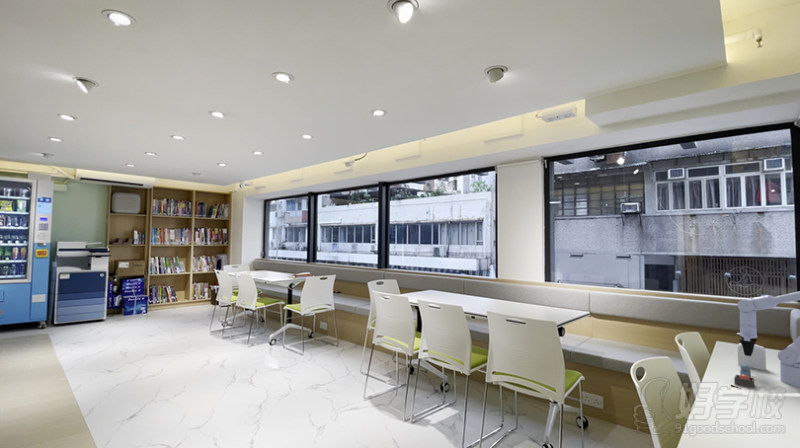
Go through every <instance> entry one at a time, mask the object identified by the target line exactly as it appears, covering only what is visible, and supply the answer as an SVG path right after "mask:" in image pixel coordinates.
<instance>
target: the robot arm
mask: <svg viewBox="0 0 800 448" xmlns="http://www.w3.org/2000/svg"><path fill="white" fill-rule="evenodd" d="M796 301H800V291H796V292H795V291H793V292H791V293H785V294H781V295H777V296H773V295H770V294H761V296H757V297H749V298H748V299H741V300H739V301H738V302H737V305H736V306H737V308H738V309H739V332H737V333H736V335H739V336H741V337H740V338H739V342H740V343H741V344H742V347H743V350H744V354H745V355H746V356H751V355H752V353H753V349H754V345H755V344H756V343H757V341H758V335H757V332H758V331H757V311H762V310H768V309H774V308H776V307H777V305H778V304H785V303H789V302H796ZM777 359H778V360H779V366H780V367H779V368H780V369H779V370H780V371H779V372H780V382H782V383H784V384H787V385H790V386H794V387H797V388H800V335H799V336H798V337H797V338H796V339H795V340H794V341H793V342H792V343H791V344H789V345H788V346H787V347H786V348H784V349H782V350H779V352H778V353H777Z"/></svg>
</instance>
